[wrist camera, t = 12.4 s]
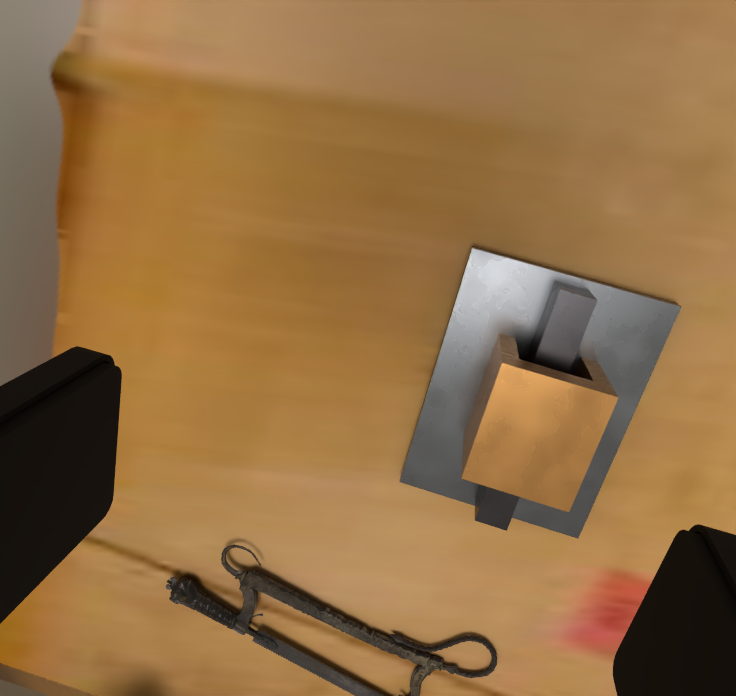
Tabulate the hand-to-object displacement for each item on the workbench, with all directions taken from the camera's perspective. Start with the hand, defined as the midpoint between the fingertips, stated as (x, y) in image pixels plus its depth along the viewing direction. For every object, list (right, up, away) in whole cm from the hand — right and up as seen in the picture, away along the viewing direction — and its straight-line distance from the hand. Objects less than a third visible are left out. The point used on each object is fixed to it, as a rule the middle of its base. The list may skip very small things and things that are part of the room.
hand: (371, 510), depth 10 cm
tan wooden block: (+10, 0, +27) cm, 29 cm away
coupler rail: (+10, 0, +28) cm, 30 cm away
